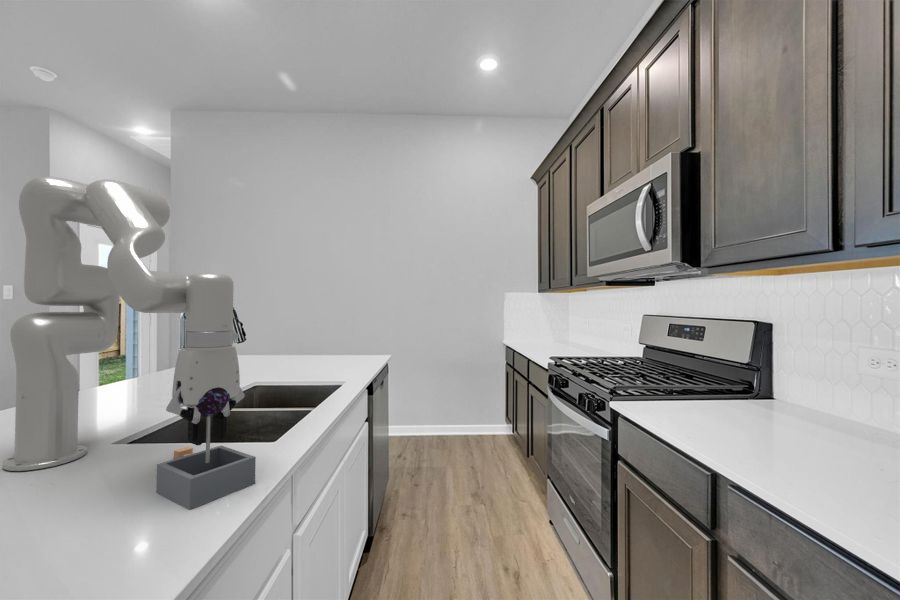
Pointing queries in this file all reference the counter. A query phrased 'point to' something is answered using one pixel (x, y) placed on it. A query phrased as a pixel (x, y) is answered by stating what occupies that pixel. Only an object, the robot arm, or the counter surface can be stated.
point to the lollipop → (212, 410)
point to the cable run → (183, 452)
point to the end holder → (205, 476)
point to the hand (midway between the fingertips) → (207, 439)
